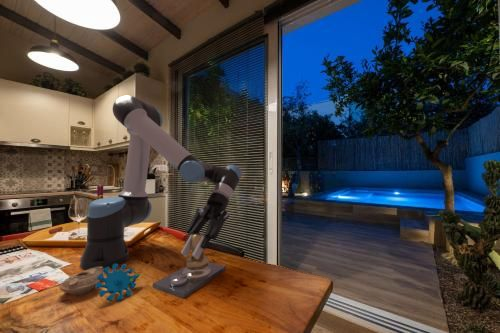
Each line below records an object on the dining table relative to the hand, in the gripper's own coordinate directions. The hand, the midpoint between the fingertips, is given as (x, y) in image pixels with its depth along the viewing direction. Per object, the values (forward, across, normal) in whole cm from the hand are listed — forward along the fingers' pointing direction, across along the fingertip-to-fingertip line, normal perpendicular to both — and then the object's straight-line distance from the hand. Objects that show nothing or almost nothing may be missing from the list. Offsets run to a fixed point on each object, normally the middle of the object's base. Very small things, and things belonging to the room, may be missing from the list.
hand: (189, 256), depth 68 cm
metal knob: (0, 0, -6) cm, 6 cm away
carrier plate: (+4, 0, -6) cm, 8 cm away
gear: (+16, +11, +5) cm, 20 cm away
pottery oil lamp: (+18, +22, +7) cm, 29 cm away
